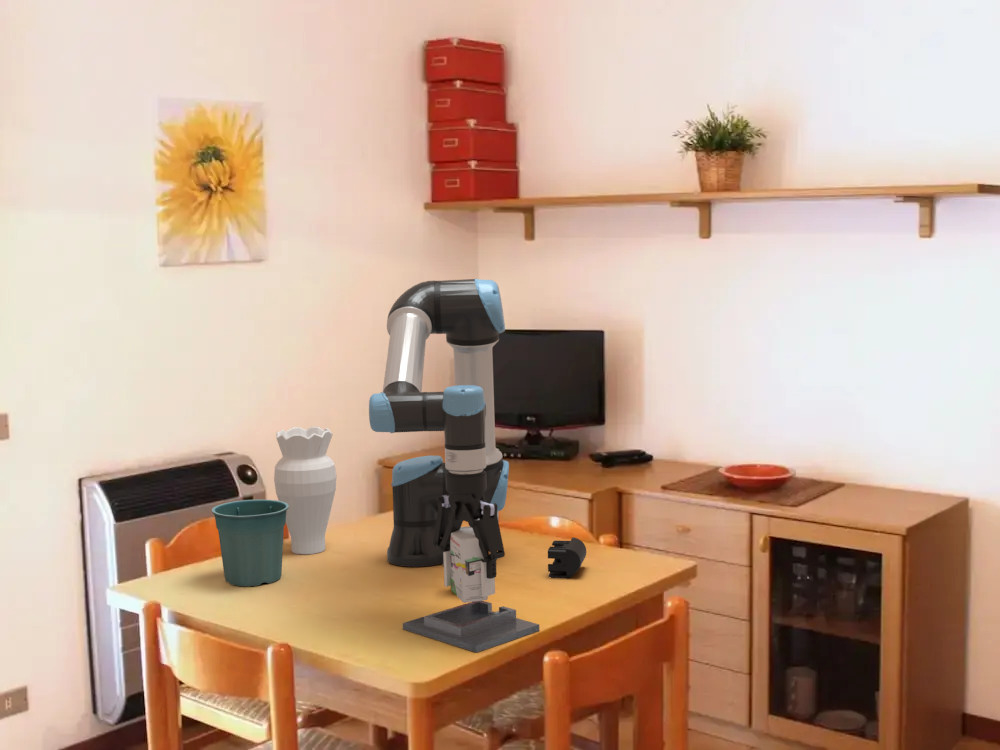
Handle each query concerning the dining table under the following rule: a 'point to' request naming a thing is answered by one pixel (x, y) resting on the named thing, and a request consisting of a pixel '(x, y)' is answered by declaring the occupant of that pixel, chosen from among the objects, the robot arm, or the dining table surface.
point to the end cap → (566, 558)
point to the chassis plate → (472, 626)
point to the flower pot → (251, 540)
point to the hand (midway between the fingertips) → (469, 589)
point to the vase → (306, 485)
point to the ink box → (466, 566)
